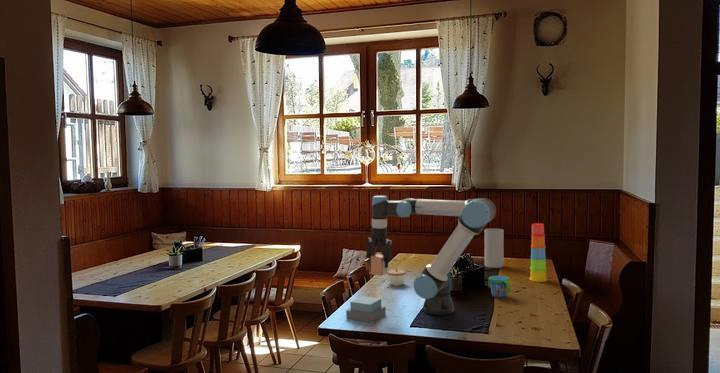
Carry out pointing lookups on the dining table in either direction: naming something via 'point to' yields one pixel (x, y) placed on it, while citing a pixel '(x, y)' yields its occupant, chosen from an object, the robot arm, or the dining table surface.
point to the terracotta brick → (377, 264)
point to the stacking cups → (538, 254)
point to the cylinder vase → (494, 248)
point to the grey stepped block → (365, 309)
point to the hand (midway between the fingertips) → (378, 273)
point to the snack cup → (499, 285)
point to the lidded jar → (396, 277)
